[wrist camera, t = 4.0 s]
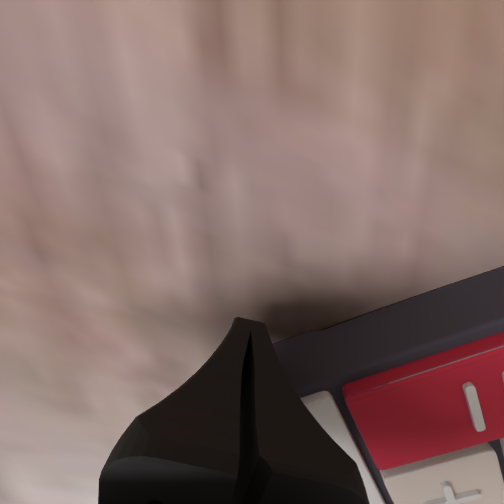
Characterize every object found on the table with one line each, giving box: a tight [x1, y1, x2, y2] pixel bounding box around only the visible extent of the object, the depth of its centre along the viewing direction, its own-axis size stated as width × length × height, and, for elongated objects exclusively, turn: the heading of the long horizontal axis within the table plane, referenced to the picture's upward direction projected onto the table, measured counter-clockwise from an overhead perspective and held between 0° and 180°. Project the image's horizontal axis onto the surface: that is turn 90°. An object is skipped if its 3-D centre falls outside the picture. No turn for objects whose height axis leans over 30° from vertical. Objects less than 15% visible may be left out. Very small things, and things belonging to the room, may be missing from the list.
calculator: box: [272, 266, 504, 504], centre depth 14 cm, size 11×4×15 cm
